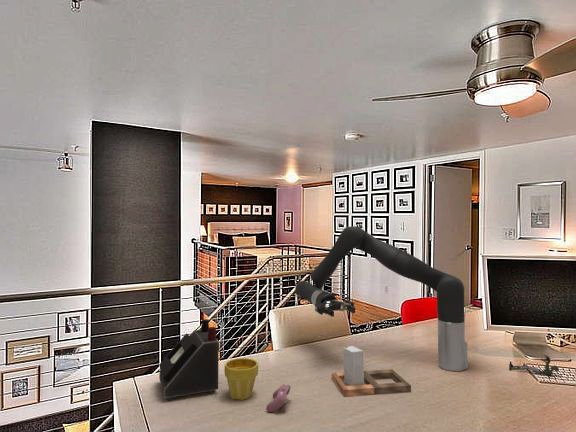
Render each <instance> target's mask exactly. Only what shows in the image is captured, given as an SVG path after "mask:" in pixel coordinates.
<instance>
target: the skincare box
mask: <svg viewBox="0 0 576 432" xmlns="http://www.w3.org/2000/svg"><path fill="white" fill-rule="evenodd" d="M342 349H343V351H342V352H343V353H342V354H343V356H342V357H343V372H344V381H343V383H344V384H345V386H354V385H365V383H364V371H365V370H364V369H365V366H364V365H365V363H364V351H363V350H362V349H360V348H358V347H356V346H354V345H351V346H345V347H343V348H342Z"/></svg>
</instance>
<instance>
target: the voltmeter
mask: <svg viewBox="0 0 576 432" xmlns="http://www.w3.org/2000/svg"><path fill="white" fill-rule="evenodd" d="M209 321H210V320H209V319H201V327H200V329H195V330H194V329H193V331H192V332H191V334H188V333H185V334H184V335H183V336H182V338H181V339H180V340H179V341H178V342H177V343H176V344H175V346H173V348H172V349H171V350H170V351H169V352H168V353H167V355H166V356H165V357H164V359H163V360H162V361H161V362H160V363H159V364H158V365H159V369H160V370H159V373H158V374H159V383H160V386H161V390H162V394H163V397H164V399H167V400H168V401H173V400H175V399H176V398H175V397H179V396H181V397H182V396H186V395H187V396H188V395H192V394H193V395H194V394H198V393H204V392H206V394H213V393H214V391H216V390H219V352H220V351H219V343H220V342H219V340H218V339H217V330H216V329H217V328H216V326H210V322H209Z"/></svg>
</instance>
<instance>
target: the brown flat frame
mask: <svg viewBox="0 0 576 432" xmlns="http://www.w3.org/2000/svg"><path fill="white" fill-rule="evenodd" d="M388 379H391V380H393V381H394V382H388V383H387V382H386V383H378V382H377V381H376V380H388ZM331 380H332V381H333V383H334V385H335V386H336V387H337V389H338V390H339V392H340V393H341V394H343V395H342V396H343V397H356V396H371V395H383V394H384V395H385V394H398V393H411V392H412V385H411V384H410V383H409V382H407V380H406V379H404V378H403V377H402V376H401V375H400V374H398V373H397V372H396V371H395V370H394V369H376V370H364V385H354V386H347V385H346V384H345V383H344V371H343V372H342V371H341V372H332V373H331Z"/></svg>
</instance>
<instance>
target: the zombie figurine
mask: <svg viewBox="0 0 576 432" xmlns="http://www.w3.org/2000/svg"><path fill="white" fill-rule="evenodd" d="M543 357H544V358H543ZM543 357H542V358H540V361H542V362H544V363H545V367H544V369H543V370H541V369H539V368H538V367H534V366H529V365H527V364H525V365H513V363H512V361H509V364H508V365H509V366H508V370H509V371H513V370H514V371H515V370H516V371H518V370H519V371H524V370H530V371H532V372H535V374H536V375H544V376H551V375H552V374H553V372H554V371H555V372H559V370H560V369H559V367H558V366H557V365H551V366H550V363H551V357H550V356H549V355H546V354H544V355H543Z"/></svg>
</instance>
